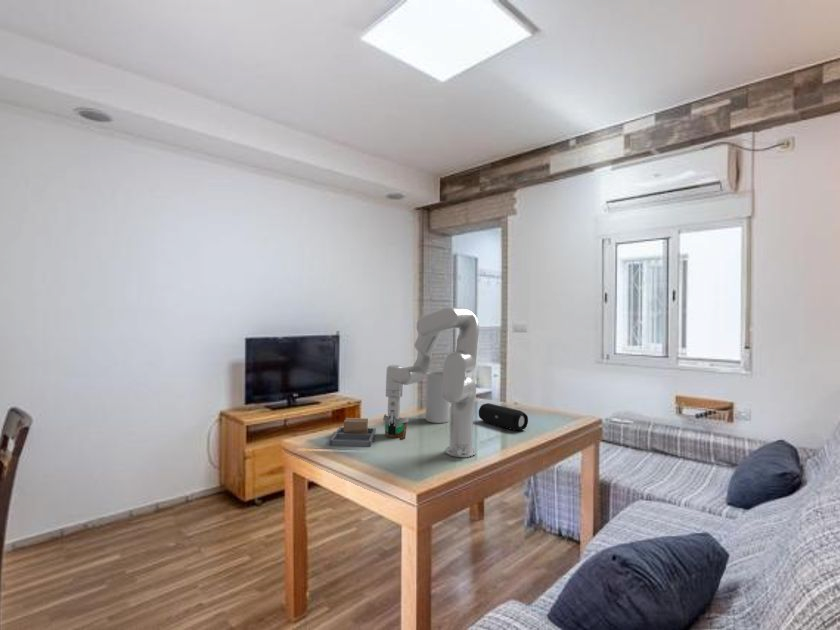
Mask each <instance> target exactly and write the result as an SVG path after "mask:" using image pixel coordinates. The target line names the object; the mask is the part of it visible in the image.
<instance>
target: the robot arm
mask: <svg viewBox="0 0 840 630" xmlns="http://www.w3.org/2000/svg"><path fill="white" fill-rule="evenodd" d="M452 329H459V332H458V336H457V338H456V348H455V351H453V352H451V353H450V354H448V355H447V356H446V357H445V360H444V362H443V367H442V372H443V376H442V387H441V390H442V395H443V397H444V399H445V400H446V401H447V402H449V403H450V414H449V440H448V441H449V445H448V446H447V447H446V448H445V454H447V455H448V456H451V457H454V458H470V456H471V457H473V455H474V456H475V455H476V454H477V450H476V449H475V448H474V447H473V440H474V439H473V435H474V434H473V433H474V432H473V431H474V413H475V411H474V410H475V408H474V407H475V400H476V396H477V395H476V394H477V386H476V383H475V381H474V380H473V379H472V377H470V376H466V374H467V375H468V374H469V373H473V371H474V370H475V369H476V365H477V355H478V354H477V353H478V343H479V335H480V323H479V320H478V318H477V316H476V315H475V314H474V313H473V312H472V311H471V310H470V309H467V308H463V307H445V308H442V309H439V310H437V311H433V312H431V313H429V314H425V315H423V316H421V317H420V318H419V319H418V320H417V323H416V330H417V333H418V336H417V338H416V340H415V342H414V348H415V350H416V351H417V353H418V355H417V358H416V360H415V362H414V363H413V365H411V366H407V367H403V366H402V365H397V364H396V365H395V364H391V365H388V366H387V368H386V376H385V378H386V379H385V397H387V416H388V419H389V426H388V434H389V435H395V431H396V426H395V420H396V419H397V420H398V419H399V417H400V416H401V415H400V414H401V413H400V411H401V410H400V409H401V398H402V397H403V386H407V385H412V384H416V383H419V382H421V381H422V380H424V378H425V376H427V373H428V371H429V369H430V367H431V364H432V360H433V359H432V357H433V356H432V355H433V354H432V353H433V352H434V349H435V348H436V346H437V344H438V342H439V339H440V338H441V336H442V334H443V332H444V331H446V330H452ZM393 418H395V419H393ZM393 420H394V421H393Z"/></svg>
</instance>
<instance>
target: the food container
mask: <svg viewBox="0 0 840 630" xmlns="http://www.w3.org/2000/svg"><path fill="white" fill-rule="evenodd" d="M393 419H395V418H393ZM382 420H383V422H384V433H385V434H384V436H385V437H387V438H389V439H399V441H403V440H406V435H407V429H408V422H410V421H409V417H408V416H406V417H400V416H399V419H398V420H397V419H396V420H395V426H396V431H395V435H389V434H388V426H389V419H388V415H387V414H386V413H385V414H384V415H383V418H382ZM393 421H394V420H393Z"/></svg>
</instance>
